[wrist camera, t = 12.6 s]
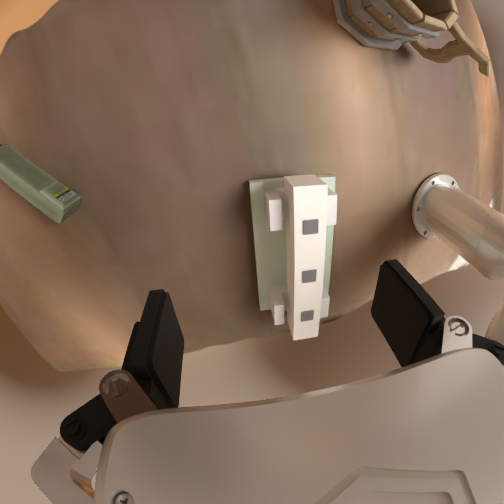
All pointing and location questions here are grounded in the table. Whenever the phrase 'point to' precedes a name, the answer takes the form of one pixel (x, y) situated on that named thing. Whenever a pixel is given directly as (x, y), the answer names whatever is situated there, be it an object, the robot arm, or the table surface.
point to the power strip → (305, 252)
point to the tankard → (408, 27)
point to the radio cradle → (282, 243)
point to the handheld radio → (37, 185)
